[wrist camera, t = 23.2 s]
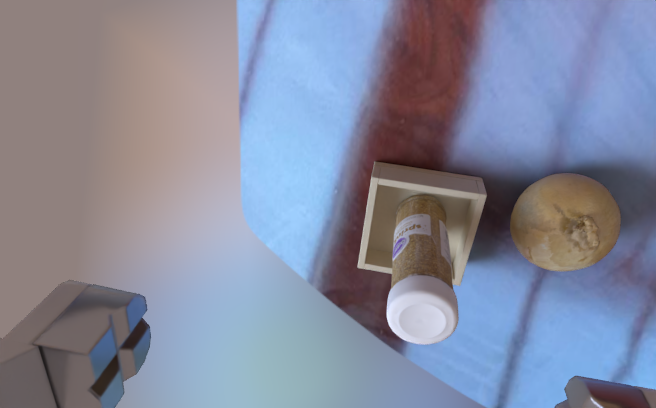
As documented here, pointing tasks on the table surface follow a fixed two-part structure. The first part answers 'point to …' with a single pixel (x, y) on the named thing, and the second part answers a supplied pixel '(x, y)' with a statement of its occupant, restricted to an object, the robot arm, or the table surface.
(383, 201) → the tray
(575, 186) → the onion
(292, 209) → the table surface
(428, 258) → the sprinkles bottle
